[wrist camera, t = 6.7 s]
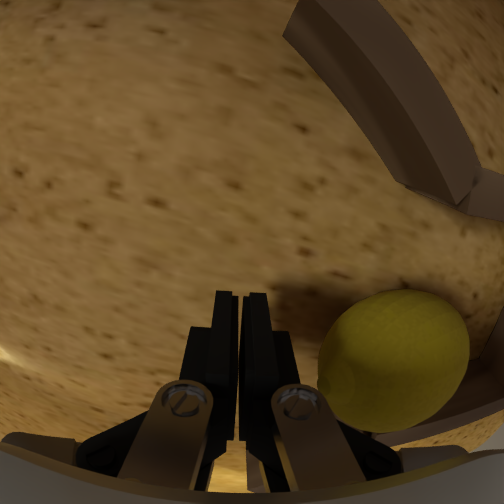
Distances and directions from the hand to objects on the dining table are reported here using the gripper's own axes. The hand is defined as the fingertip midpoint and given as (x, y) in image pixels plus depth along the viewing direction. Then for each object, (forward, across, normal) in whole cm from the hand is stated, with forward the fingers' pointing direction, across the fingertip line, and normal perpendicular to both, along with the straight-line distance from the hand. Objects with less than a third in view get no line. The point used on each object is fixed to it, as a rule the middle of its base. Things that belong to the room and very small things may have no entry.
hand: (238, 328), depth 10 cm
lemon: (-2, -2, 0) cm, 3 cm away
